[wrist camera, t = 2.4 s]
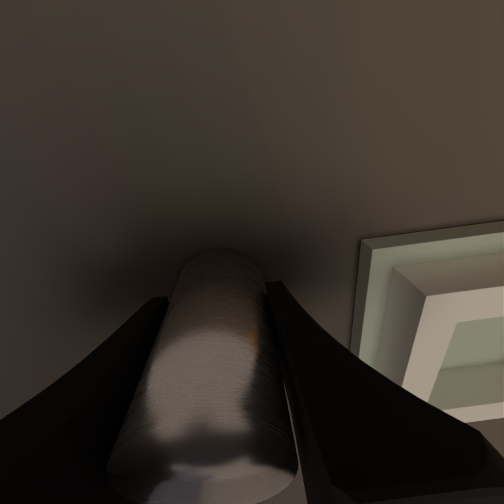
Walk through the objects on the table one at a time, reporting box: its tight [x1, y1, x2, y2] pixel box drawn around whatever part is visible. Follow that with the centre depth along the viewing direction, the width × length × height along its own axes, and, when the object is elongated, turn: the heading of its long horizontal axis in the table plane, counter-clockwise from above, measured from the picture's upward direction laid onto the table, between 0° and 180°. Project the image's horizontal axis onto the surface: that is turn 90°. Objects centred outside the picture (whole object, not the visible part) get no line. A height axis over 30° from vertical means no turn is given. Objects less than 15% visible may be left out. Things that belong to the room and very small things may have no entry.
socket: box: [350, 221, 504, 423], centre depth 12 cm, size 11×11×3 cm
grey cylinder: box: [106, 248, 298, 504], centre depth 8 cm, size 4×4×7 cm
